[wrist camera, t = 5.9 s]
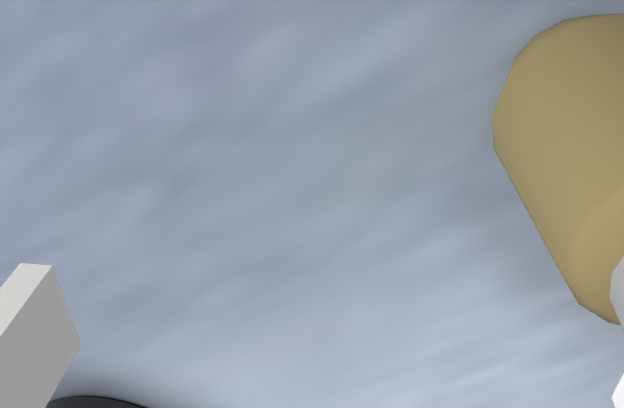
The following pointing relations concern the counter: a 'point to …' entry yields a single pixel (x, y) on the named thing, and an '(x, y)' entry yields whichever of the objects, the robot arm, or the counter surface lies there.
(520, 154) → the squeeze bottle
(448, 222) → the counter surface
